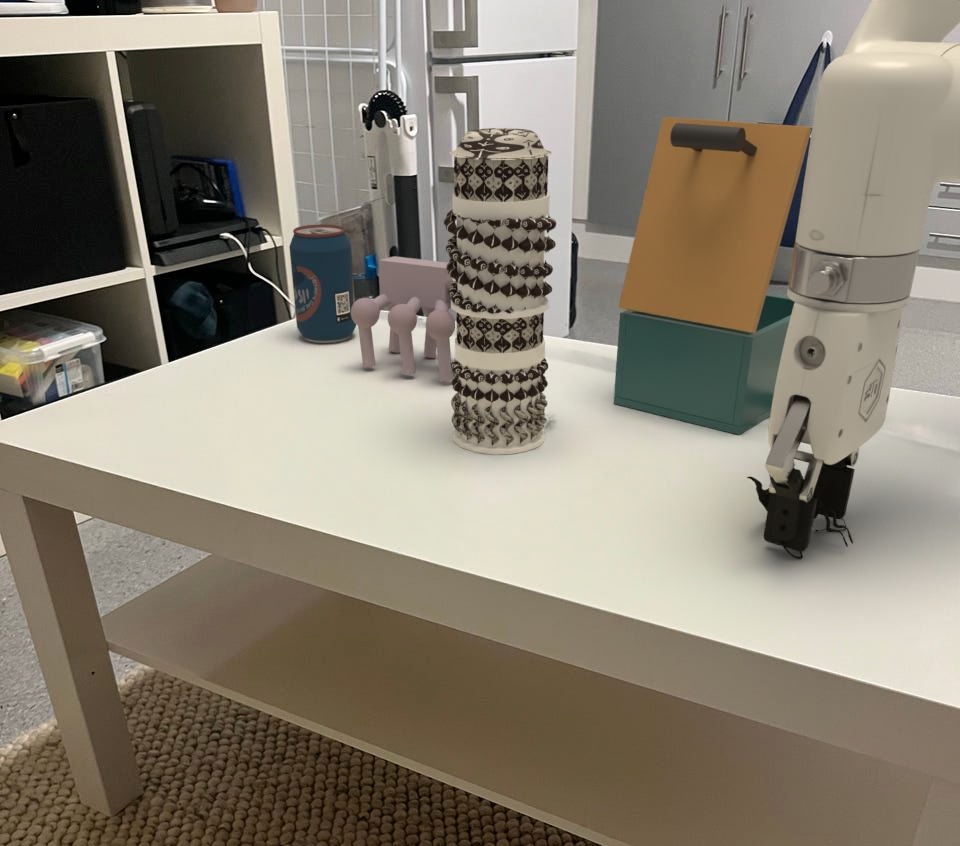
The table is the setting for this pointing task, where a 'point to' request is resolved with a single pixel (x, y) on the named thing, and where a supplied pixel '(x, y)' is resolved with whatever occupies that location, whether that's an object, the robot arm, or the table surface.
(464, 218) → the decorative candle
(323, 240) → the soda can
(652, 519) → the table surface
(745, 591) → the table surface
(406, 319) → the pink pegged block
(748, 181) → the lid
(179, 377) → the table surface
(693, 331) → the teal open box
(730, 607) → the table surface
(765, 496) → the creature
